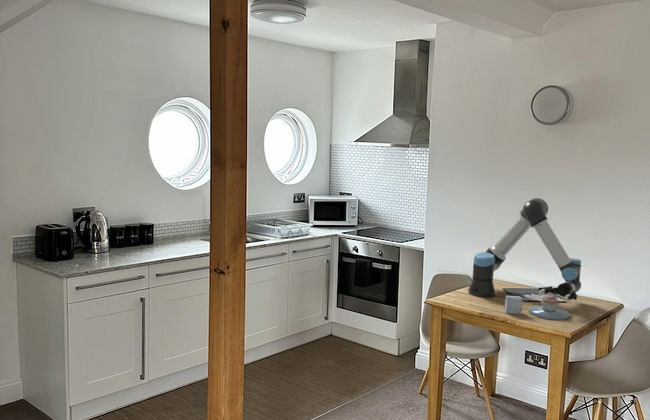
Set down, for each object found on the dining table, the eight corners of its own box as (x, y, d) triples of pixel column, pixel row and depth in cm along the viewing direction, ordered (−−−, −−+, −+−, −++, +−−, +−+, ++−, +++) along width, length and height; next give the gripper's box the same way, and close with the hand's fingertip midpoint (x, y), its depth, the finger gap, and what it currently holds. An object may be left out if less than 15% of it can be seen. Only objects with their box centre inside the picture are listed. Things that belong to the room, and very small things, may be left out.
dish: (534, 318, 308) (534, 315, 308) (524, 307, 328) (524, 304, 327) (574, 321, 306) (574, 317, 306) (562, 309, 326) (562, 306, 326)
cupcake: (535, 309, 318) (537, 291, 316) (545, 307, 323) (547, 289, 322) (552, 314, 310) (553, 295, 309) (561, 311, 316) (563, 293, 315)
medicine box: (519, 312, 318) (520, 296, 317) (521, 314, 314) (522, 298, 313) (504, 311, 319) (505, 295, 318) (506, 313, 315) (507, 297, 314)
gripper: (588, 300, 326) (575, 308, 310) (543, 291, 342) (528, 298, 325) (590, 287, 325) (577, 294, 309) (544, 278, 341) (529, 284, 324)
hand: (552, 296), depth 317 cm, fingers open, 13 cm apart
